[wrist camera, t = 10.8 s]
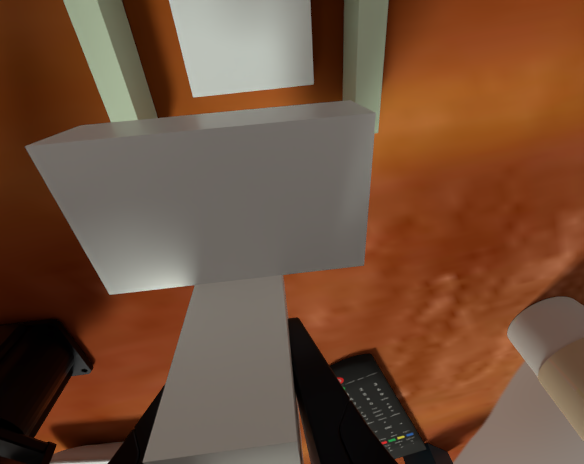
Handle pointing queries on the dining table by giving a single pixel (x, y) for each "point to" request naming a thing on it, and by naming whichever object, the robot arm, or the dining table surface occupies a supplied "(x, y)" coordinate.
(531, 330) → the coffee cup
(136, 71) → the green c-shaped block
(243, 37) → the tile
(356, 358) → the remote control
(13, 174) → the dining table surface
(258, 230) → the scraper
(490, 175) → the dining table surface
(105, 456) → the salad plate
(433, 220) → the dining table surface
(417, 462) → the abstract loop sculpture
